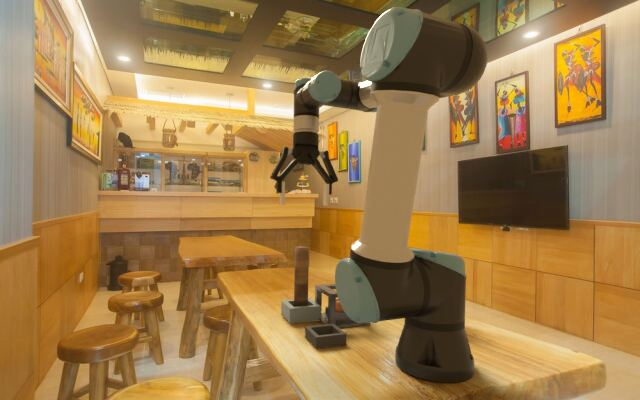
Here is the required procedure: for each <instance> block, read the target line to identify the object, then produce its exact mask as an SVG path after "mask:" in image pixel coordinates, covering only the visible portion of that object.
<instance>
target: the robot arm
mask: <svg viewBox="0 0 640 400" xmlns="http://www.w3.org/2000/svg"><path fill="white" fill-rule="evenodd" d="M488 60H489V59H488V49H487V45H486V42H485V40H484V39H483V37H482V35H481V34H480V33H479V32H478V31H477V30H475V29H474V28H473V27H471V26H470V25H467V24H464V23H460V22H455V21H453V20H450V19H447V18H443V17H439V16H437V15H432V14H431V13H426V12H423V11H421V10H420V9H417V8H413V9H411V8H407V7H402V6H394V7H391V8H389V9H387V10H385V11H384V12H383V13H382V14H381V15H380V16H379V17H378V18H377V19H376V20H375V21H374V23H373V24H372V27H371V28H370V30H369V31H368V33H367V35H366V37H365V41H364V43H363V46H362V50H361V54H360V61H359V62H360V63H359V66H360V67H359V68H360V70H361V71H360V72H361V75H362V77H363V78H364V79H365V80H364V81H362V82H361V81H360V82H359V81H358V82H357V81H354V80H353V81H352V80H348V79H342V78H340V77H339V76H338V75H337V74H336V73H334V72H333V71H331V70H323V71H320V72H318V73H317V74H315V75H313V76H312V77H308V76H307V77H301V78H298V79H296V80H295V82H294V89H293V125H292V126H293V127H292V129H293V132H294V133H293V134H292V148H290V147H289V148H288V147H287V146H284V147H283V148H282V150H281V155H280V157H279V159H278V161H277V162H276V165H275V166H274V168H273V170H272V172H271V174H270V179H271V180H273V181H275V182H276V193H277V194H279V202H278V203H279V205H280V206H281V205H282V206H283V205H285V203H286V202H285V199H286V196H285V195H286V181H284V180H285V178H286V177H287V176H288V174H290V172H291V171H292V170H293V169H295V168H294V167H295V166H297V165H300V166H302V165H306V166H312V167H313V168H314V169H315V170H316V172H317V173H318V174H319V176H320V177H321V178H322V180H323V181H324V183H323V184H322V185H323V186H322V187H323V189H322V190H323V191H322V192H323V193H322V197H323V198H322V205H323V206H322V207H328V206H329V207H330V195H331V196H332V193H333V191H332V190H333V184H334V183H337V182H339V178H338V176H337V173H336V171H335V168H334V167H333V165H332V162H331V159H330V154H329V153H330V152H329V151H328V150H324V151H322V150H321V151H320V150H319V143H320V141H319V140H320V139H319V138H320V135H319V131H320V108H321V107H323V106H326V107H331V108H332V107H333V108H339V109H348V110H354V111H361V112H364V113H376V114H375V120H374V121H375V122H374V130H373V136H372V138H373V139H372V143H371V144H372V145H371V154H370V158H369V159H370V161H369V167H368V168H369V169H368V174H367V175H368V176H367V182H366V191H365V197H364V198H365V200H364V207H363V213H362V221H361V222H362V223H361V228H360V236H359V238H358V239H356V240H355V241H354V242H352V243H351V245H350V251H349V257H345V258H342V259H340V260H339V261H338V263H337V264H336V267H335V271H334V284H335V286H336V289H335V291H336V292H337V296H338V298H337V299H339V302H340V304H341V306H342V309H343V310H344V312H345V313H346V315H347V316H348V317H349V318H350V319H351V320H353V321H355V322H357V323H367V322H370V324H377V323H378V322H384V321H385V322H386V321H392V320H400V319H404V322H403V323H404V324H403V328H402V331H401V333H400V337H399V339H398V343H397V345H396V347H395V353H394V354H395V356H394V359H395V364H396V365H397V367H398V368H399V369H400V370H402V371H403V372H405V373H406V374H408V375H411V376H413V377H415V378H418V379H422V380H426V381H430V382H437V383H460V382H463V381H467V380H470V379H471V378H472V377H473V376H474V374H475V358H474V355H473V354H472V351H471V347H470V343H469V342H470V341H469V340H468V336H467V333H466V324H465V323H466V292H467V291H466V284H467V282H466V280H467V274H466V263H465V260H464V259H463V257H462V256H461V255H458V254H454V253H450V252H449V253H448V252H441V251H435V250H431V249H430V250H429V249H428V250H427V249H421V248H414V247H413V248H412V247H409V244H408V243H409V237H410V236H409V235H410V231H411V222H412V218H413V212H414V203H415V199H416V198H415V196H416V192H417V191H416V190H417V185H418V184H417V183H418V178H419V173H420V165H421V159H422V153H423V152H422V151H423V146H424V140H425V139H424V138H425V132H426V126H427V120H428V113H429V110H430V109H431V108H432V107H433V106H435V104H436V103H438V102H439V101H440V99H442V98H447V97H453V96H457V95H461V94H464V93H465V92H467V91H469V90H471V89H472V88H473V87H474V86H476V85H477V84H478V83H479V82H480V80H481V79H482V78H483V75H484V74H485V71H486V69H487V65H488ZM290 154H291V155H292V157H293V159H292V160H291V161H290V163H289V164H288V165H287V166H286V167H284V169H283V171H282V172H281V173H280V171H281V169H282V167H283V166H284V164H285V161H286V160H287V158H288V156H290ZM319 157H320V158H321V160H322V163H323V165H324V167H325V169H326V170H325V169H324V167H323V166H322V163H321V162H320V161H319V159H318V158H319ZM279 173H280V174H279Z"/></svg>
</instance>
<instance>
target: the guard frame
mask: <svg viewBox="0 0 640 400" xmlns="http://www.w3.org/2000/svg"><path fill="white" fill-rule="evenodd" d="M314 288H315V289H314V301H315V303H317V304H319V305H320V306H321V318H319V321H318V322H320V323H321V325H326V324H335V325H336V326H337V327H338V328H340V329H345V328H346V329H347V328H353V327H362V326H363V327H364V326H371V322H367V323H357V322H355V321H353V320H351V319H350V318H349V317H348V316H347V315H346V313H345V312H336V299H338V296H337V292H336V286H335V283H327V284H326V283H325V284H315V285H314ZM323 294H324V295H325V296H327V301H328V302H327V306H325V308H324V309H325V312H322V310H323V309H322V306H323V305H322V303H323V302H322V300H323V296H322V295H323Z"/></svg>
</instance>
